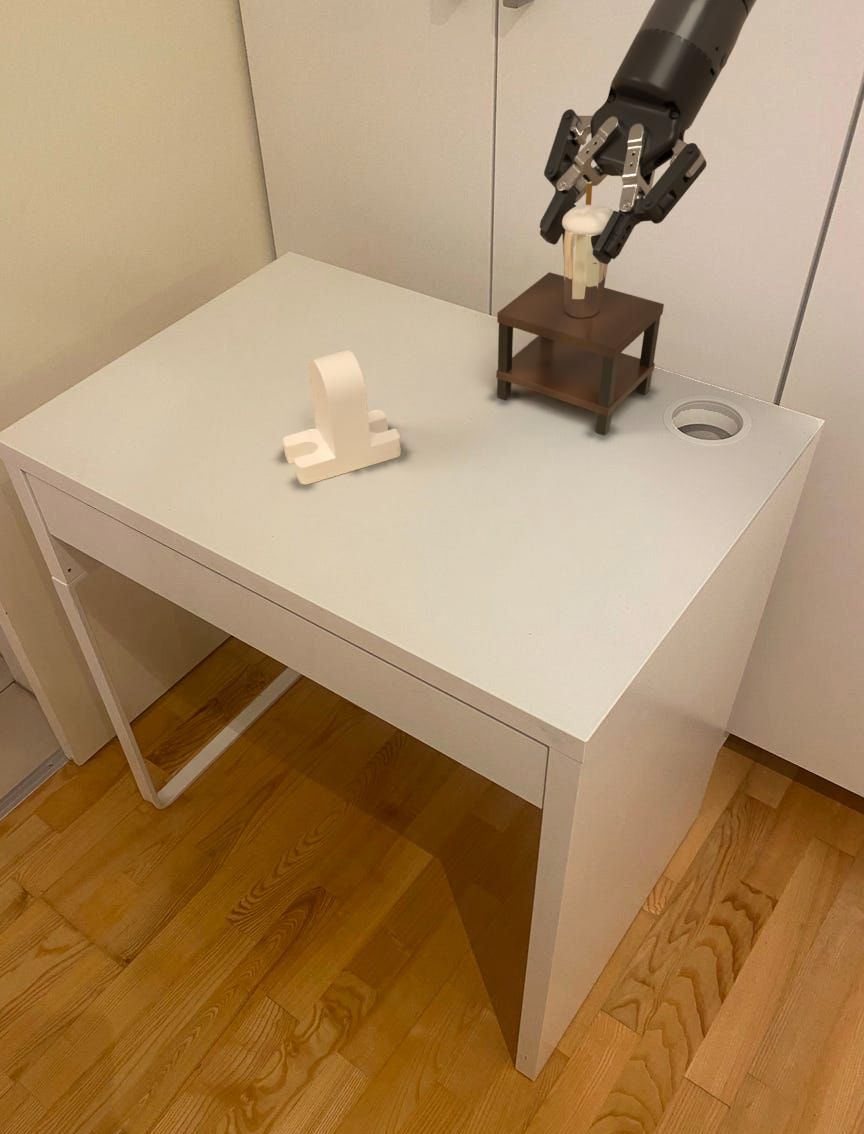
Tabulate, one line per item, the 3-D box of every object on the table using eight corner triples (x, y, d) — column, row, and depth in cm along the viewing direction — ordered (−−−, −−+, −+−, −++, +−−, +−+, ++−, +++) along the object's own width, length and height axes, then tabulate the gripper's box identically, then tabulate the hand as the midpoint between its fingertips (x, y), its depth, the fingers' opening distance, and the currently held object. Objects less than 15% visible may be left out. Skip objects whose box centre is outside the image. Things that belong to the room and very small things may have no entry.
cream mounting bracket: (403, 455, 91) (397, 358, 84) (301, 485, 89) (286, 389, 82) (381, 426, 94) (374, 330, 87) (283, 454, 92) (267, 359, 85)
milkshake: (605, 292, 91) (617, 181, 84) (608, 321, 88) (620, 208, 80) (555, 293, 92) (562, 183, 84) (556, 322, 88) (564, 210, 81)
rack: (651, 390, 96) (664, 303, 89) (604, 436, 91) (615, 349, 84) (544, 355, 101) (549, 271, 95) (495, 397, 97) (497, 312, 90)
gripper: (590, 11, 81) (489, 206, 85) (742, 42, 74) (625, 255, 77) (623, 64, 88) (528, 244, 91) (767, 98, 80) (657, 293, 84)
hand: (573, 248), depth 84 cm, fingers open, 5 cm apart
